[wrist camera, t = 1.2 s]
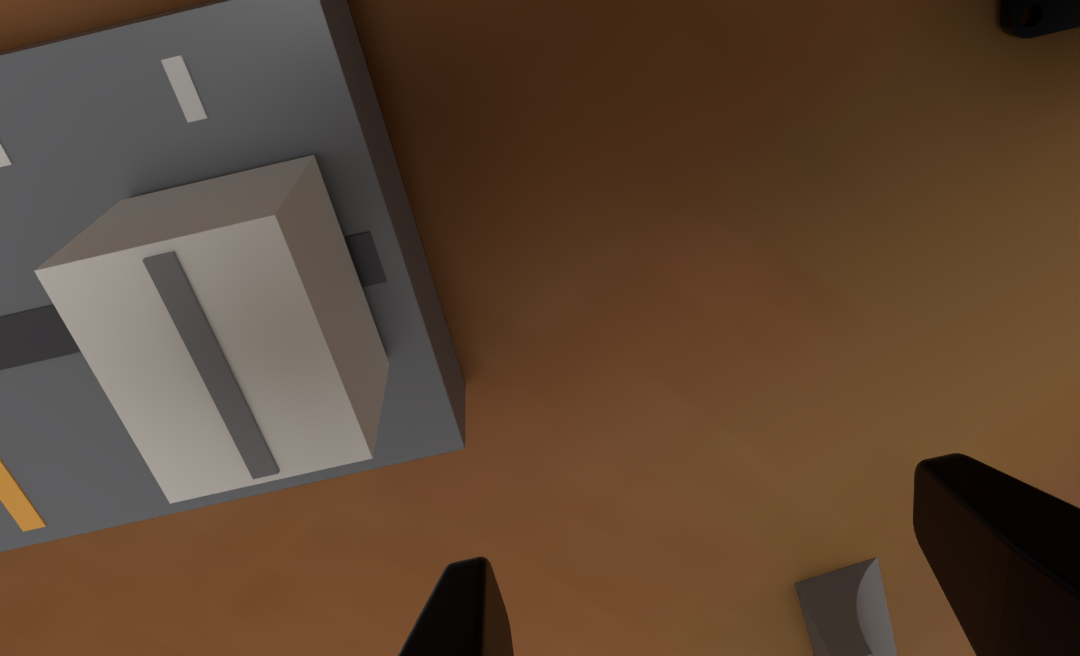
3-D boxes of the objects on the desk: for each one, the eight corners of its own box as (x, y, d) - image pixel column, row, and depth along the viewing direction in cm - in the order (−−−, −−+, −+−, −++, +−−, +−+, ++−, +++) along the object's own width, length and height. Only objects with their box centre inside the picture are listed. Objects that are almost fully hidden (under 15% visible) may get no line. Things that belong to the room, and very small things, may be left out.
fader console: (337, -30, 17) (312, -20, 14) (465, 384, 22) (465, 450, 19) (-441, 157, 17) (-610, 202, 15) (-135, 519, 22) (-216, 601, 20)
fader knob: (314, 154, 15) (273, 216, 12) (389, 364, 18) (372, 462, 15) (120, 200, 15) (30, 273, 12) (221, 401, 18) (168, 507, 15)
